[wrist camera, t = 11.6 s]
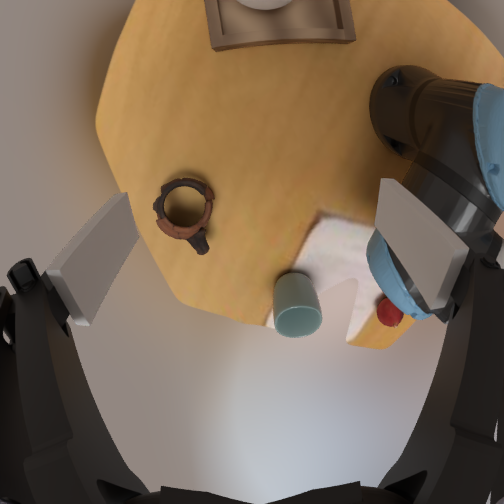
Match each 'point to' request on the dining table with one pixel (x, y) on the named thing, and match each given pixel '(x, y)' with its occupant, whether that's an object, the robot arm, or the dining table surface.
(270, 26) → the tray
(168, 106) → the dining table surface
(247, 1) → the mug
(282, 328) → the cup
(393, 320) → the onion
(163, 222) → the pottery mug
